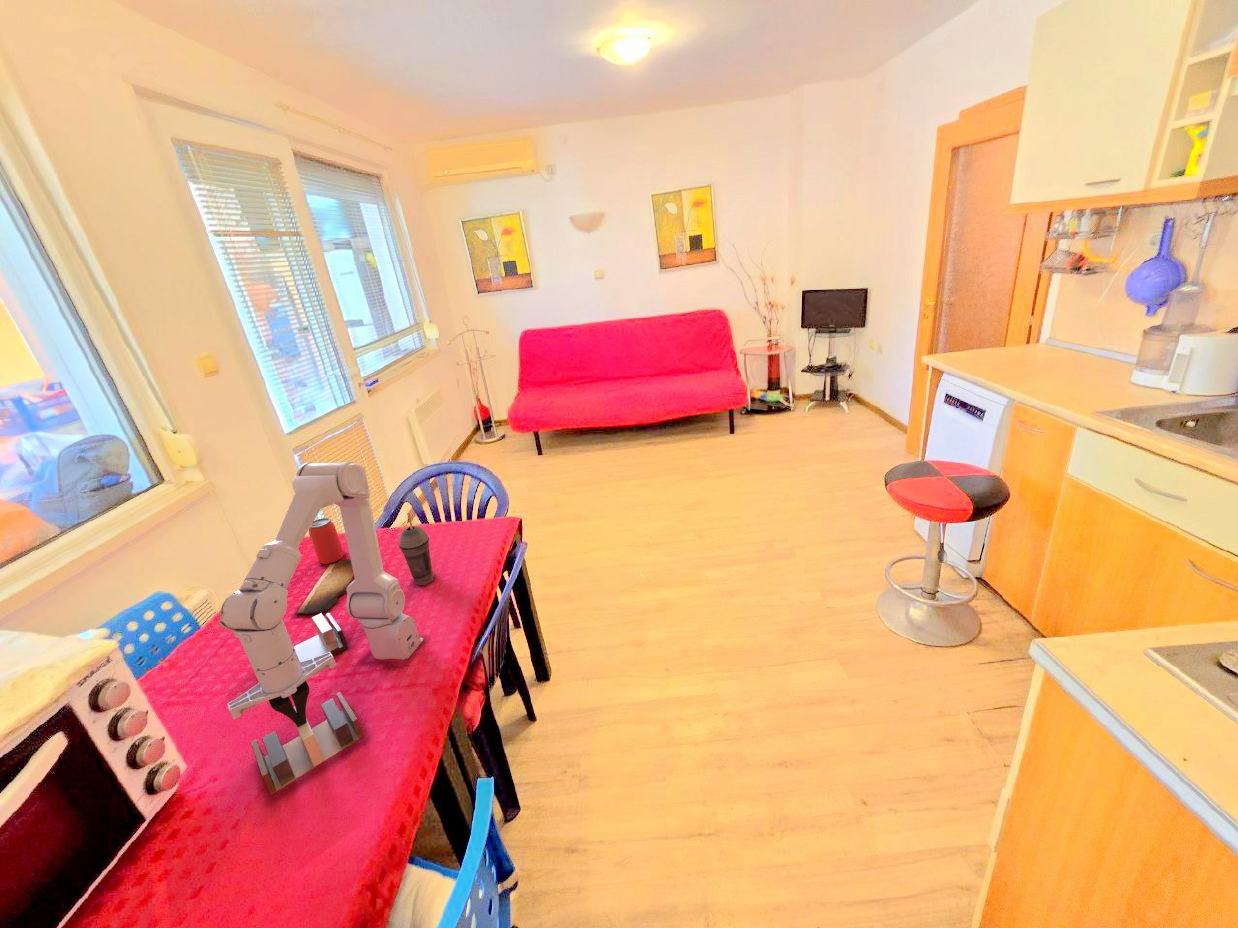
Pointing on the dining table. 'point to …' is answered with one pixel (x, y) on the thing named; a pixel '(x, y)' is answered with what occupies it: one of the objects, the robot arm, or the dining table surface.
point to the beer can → (325, 541)
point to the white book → (310, 743)
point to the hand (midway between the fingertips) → (300, 721)
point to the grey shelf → (293, 755)
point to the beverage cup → (417, 553)
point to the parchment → (328, 587)
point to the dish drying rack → (322, 639)
